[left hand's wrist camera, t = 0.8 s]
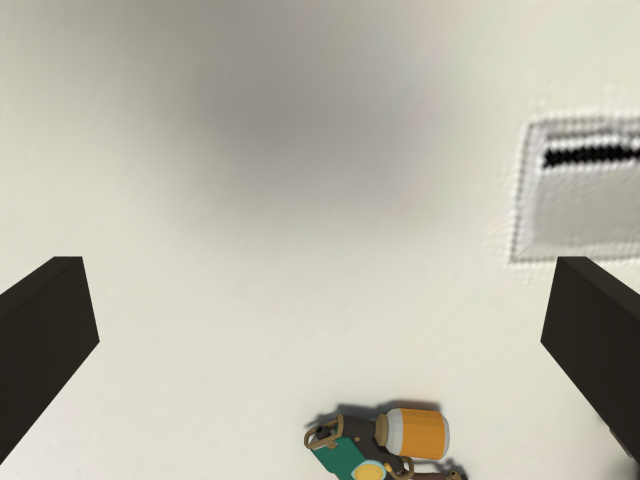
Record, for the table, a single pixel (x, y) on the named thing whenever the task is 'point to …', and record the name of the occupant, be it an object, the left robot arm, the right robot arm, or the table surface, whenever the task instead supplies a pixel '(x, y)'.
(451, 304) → the table surface
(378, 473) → the spray gun
